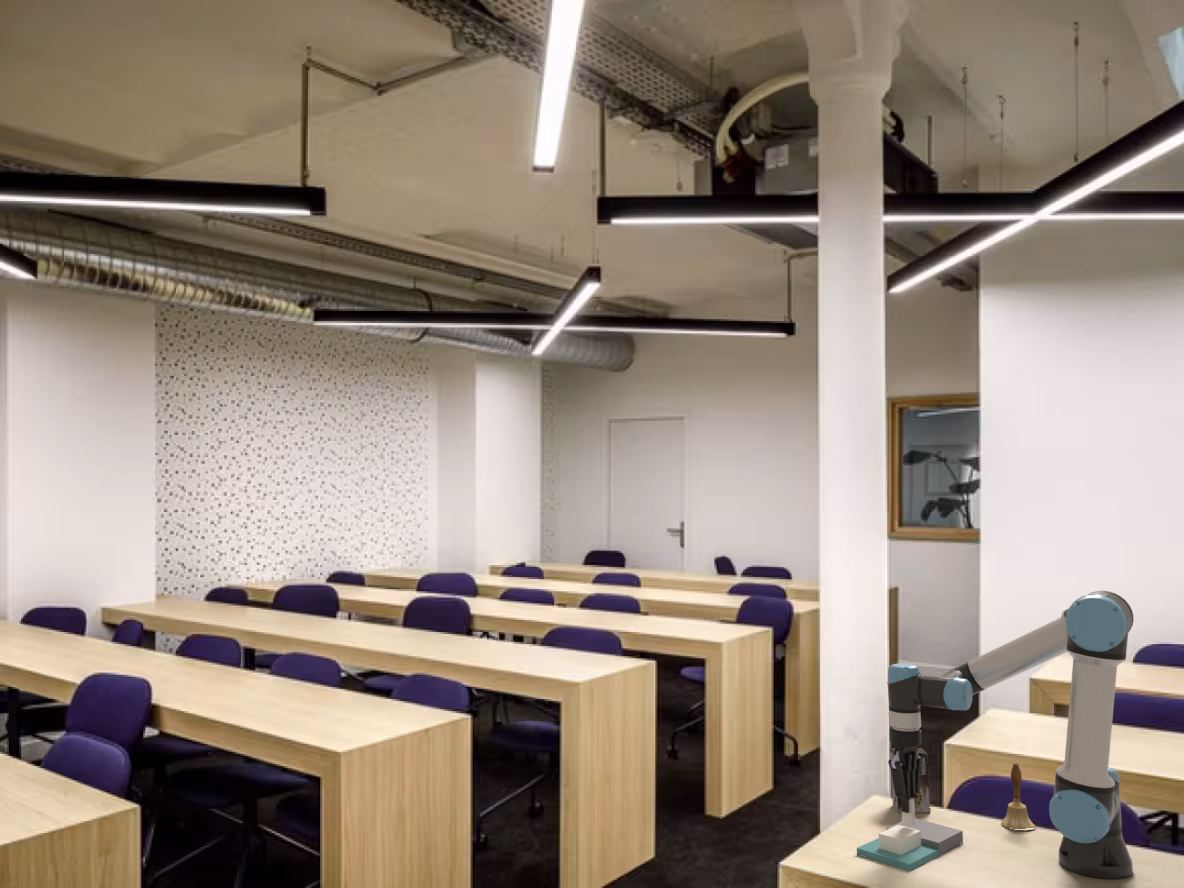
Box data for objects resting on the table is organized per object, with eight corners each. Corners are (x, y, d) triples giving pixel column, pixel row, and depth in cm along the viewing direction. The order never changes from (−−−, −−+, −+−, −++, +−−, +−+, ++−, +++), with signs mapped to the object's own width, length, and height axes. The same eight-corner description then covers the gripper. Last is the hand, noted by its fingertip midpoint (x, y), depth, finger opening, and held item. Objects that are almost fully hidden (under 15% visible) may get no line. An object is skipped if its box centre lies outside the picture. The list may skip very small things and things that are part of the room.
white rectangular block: (921, 845, 223) (920, 830, 223) (901, 855, 217) (901, 839, 217) (898, 839, 227) (898, 824, 227) (879, 848, 221) (878, 833, 222)
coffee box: (924, 805, 256) (922, 747, 257) (931, 813, 250) (928, 753, 251) (891, 805, 257) (889, 747, 258) (897, 813, 251) (894, 753, 252)
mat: (938, 855, 220) (938, 849, 220) (909, 870, 211) (909, 864, 211) (886, 840, 230) (886, 834, 230) (856, 854, 222) (856, 847, 222)
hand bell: (1004, 818, 245) (1001, 758, 246) (1038, 824, 240) (1035, 763, 241) (997, 827, 238) (994, 765, 240) (1032, 834, 234) (1029, 770, 235)
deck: (963, 843, 228) (962, 830, 228) (939, 855, 220) (938, 842, 220) (911, 828, 238) (911, 817, 239) (886, 840, 230) (886, 828, 231)
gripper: (905, 720, 234) (908, 815, 232) (877, 729, 225) (880, 827, 223) (932, 725, 228) (936, 822, 226) (905, 734, 219) (908, 835, 218)
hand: (908, 824), depth 225 cm, fingers closed
